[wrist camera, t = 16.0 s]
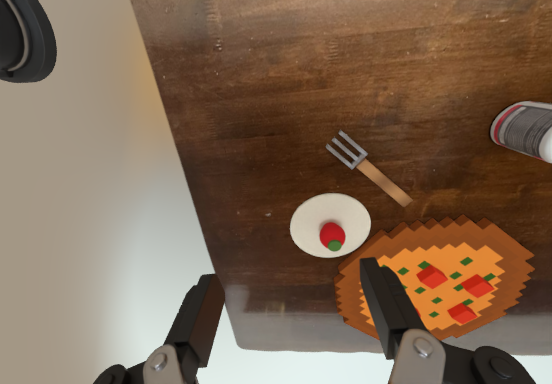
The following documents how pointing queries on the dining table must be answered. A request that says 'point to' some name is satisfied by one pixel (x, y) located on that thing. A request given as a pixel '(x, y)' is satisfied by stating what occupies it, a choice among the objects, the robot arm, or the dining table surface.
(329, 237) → the strawberry
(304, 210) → the plate
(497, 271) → the pizza
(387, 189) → the fork
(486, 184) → the dining table surface
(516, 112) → the pill bottle
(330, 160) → the dining table surface
